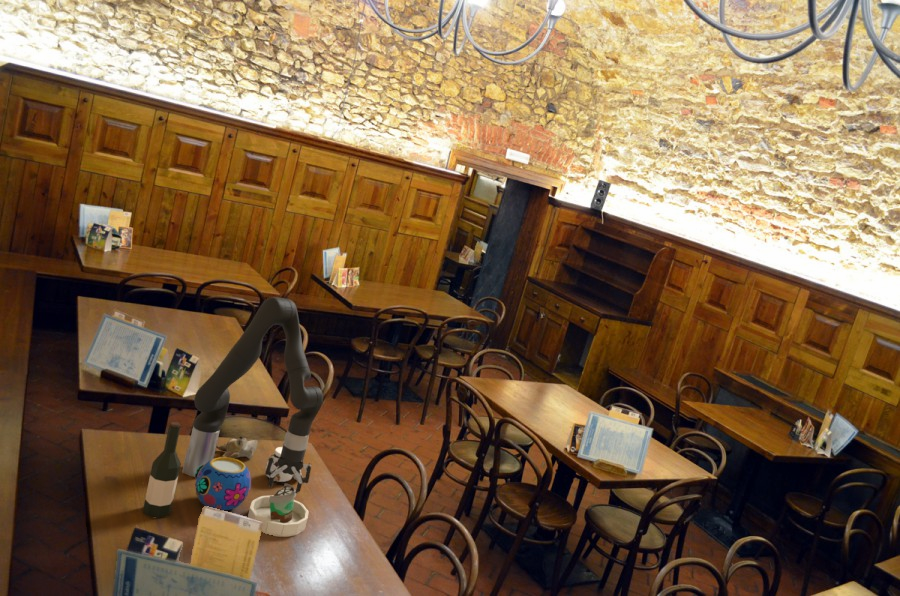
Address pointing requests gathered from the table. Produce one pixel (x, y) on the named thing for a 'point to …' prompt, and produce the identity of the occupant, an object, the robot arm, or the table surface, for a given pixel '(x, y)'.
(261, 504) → the bowl
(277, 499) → the food container
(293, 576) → the table surface
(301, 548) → the table surface
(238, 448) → the ceramic sculpture
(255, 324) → the robot arm
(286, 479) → the spread jar
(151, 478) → the wine bottle
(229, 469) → the ceramic pot
